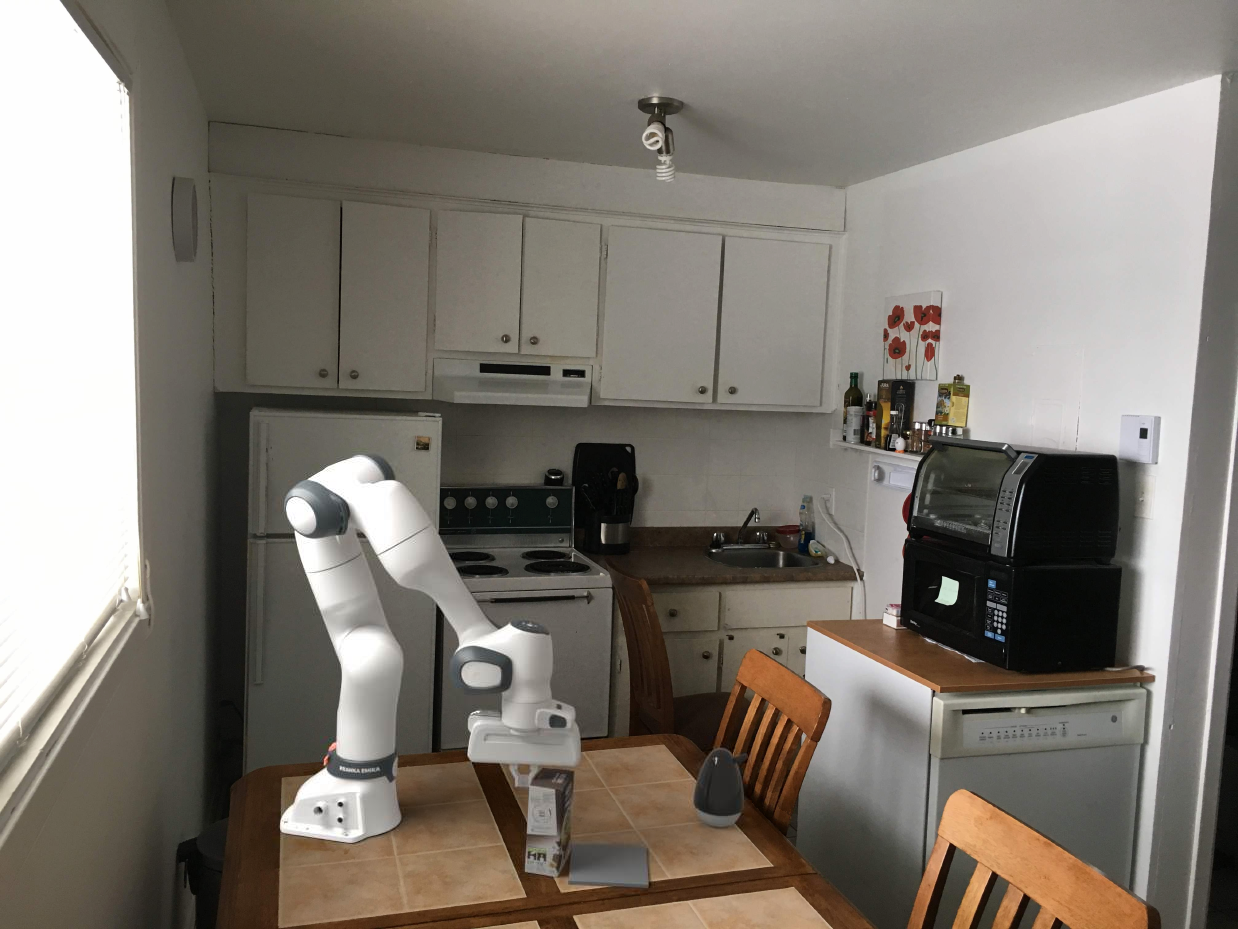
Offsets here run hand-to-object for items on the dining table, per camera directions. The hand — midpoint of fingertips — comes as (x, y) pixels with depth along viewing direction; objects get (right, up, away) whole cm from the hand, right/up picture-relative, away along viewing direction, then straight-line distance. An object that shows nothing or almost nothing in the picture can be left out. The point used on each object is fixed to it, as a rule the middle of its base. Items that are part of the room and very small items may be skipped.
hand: (523, 786), depth 172 cm
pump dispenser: (+37, -15, +22) cm, 45 cm away
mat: (+15, -15, +1) cm, 21 cm away
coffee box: (+4, -15, +1) cm, 15 cm away
